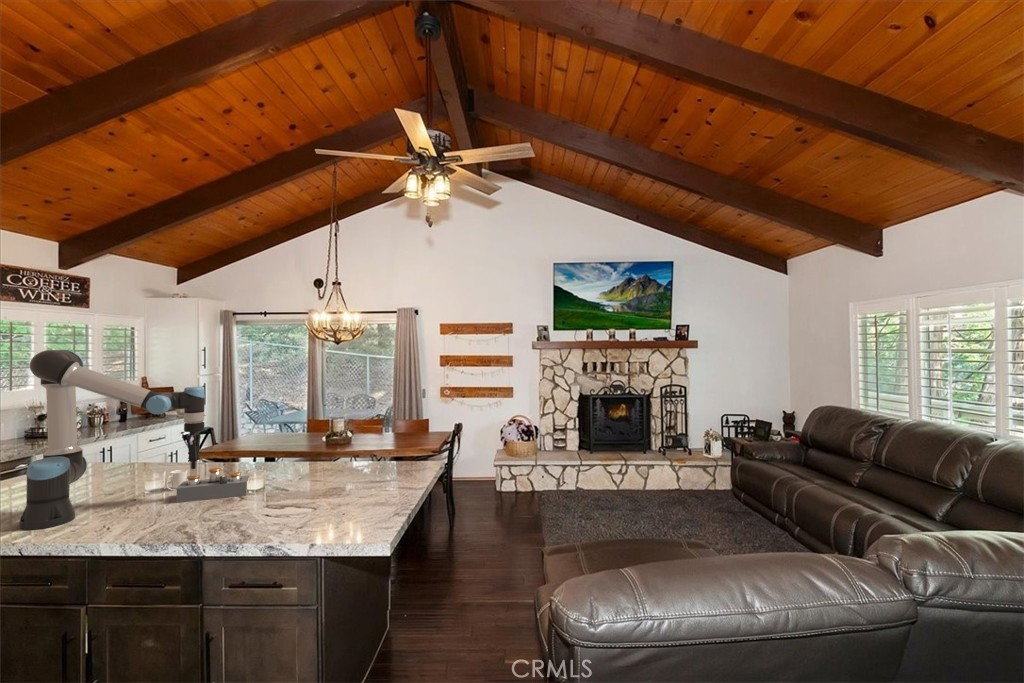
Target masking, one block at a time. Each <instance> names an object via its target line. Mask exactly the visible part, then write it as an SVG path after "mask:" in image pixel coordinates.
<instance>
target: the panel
mask: <svg viewBox="0 0 1024 683" xmlns="http://www.w3.org/2000/svg"><path fill="white" fill-rule="evenodd" d="M248 478H249V479H250V475H240V481H232V482H230V476H229V477H228V476H227V483H226V484H220V483H210V484H209V482H210V478H209V479H199V485H188V480H186V481H183V482H182V483H181V485H180V486H179V487H178V488H177V490H176V503H186V502H187V503H188V502H189V503H190V502H195V501H196V502H199V501H205V500H216V499H225V498H226V499H228V498H235V497H244V496H247V494H248V492H247V481H248Z"/></svg>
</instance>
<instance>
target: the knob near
mask: <svg viewBox="0 0 1024 683" xmlns="http://www.w3.org/2000/svg"><path fill="white" fill-rule="evenodd" d="M200 477H201V476H200V475H199V474H198V476H190V475H187V478H186V480H187V481H188V485H199V480H200Z"/></svg>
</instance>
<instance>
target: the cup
mask: <svg viewBox="0 0 1024 683" xmlns="http://www.w3.org/2000/svg"><path fill="white" fill-rule="evenodd" d="M188 471H189V470H188V469H177V470H172V471H170V472H169V476H168V477H167V478H166V480H165V484H164V486H165V487H166V488H167V489H168V490H170V491H177V488H178V487H179V486H180V485H181V483H182V482H183V481H187V477H188V473H189V472H188ZM169 479H170V483H171V486H172V488H170V487H169V485H168V482H169Z"/></svg>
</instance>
